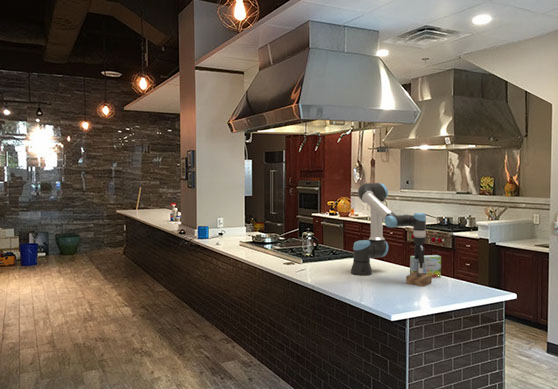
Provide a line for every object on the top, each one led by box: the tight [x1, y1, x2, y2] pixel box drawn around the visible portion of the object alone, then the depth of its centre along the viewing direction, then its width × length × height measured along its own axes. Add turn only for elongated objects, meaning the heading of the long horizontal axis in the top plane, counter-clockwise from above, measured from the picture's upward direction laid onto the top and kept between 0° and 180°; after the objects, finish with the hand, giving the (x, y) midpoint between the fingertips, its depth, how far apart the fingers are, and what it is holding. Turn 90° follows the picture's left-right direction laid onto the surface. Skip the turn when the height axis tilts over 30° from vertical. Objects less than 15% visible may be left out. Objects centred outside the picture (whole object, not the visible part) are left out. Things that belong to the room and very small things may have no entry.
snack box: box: [409, 254, 442, 279], centre depth 336 cm, size 21×6×15 cm, turn 105°
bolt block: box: [405, 270, 433, 287], centre depth 316 cm, size 12×12×13 cm
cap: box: [413, 259, 425, 270], centre depth 316 cm, size 7×7×6 cm
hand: (418, 271), depth 316 cm, fingers closed on cap, 7 cm apart
